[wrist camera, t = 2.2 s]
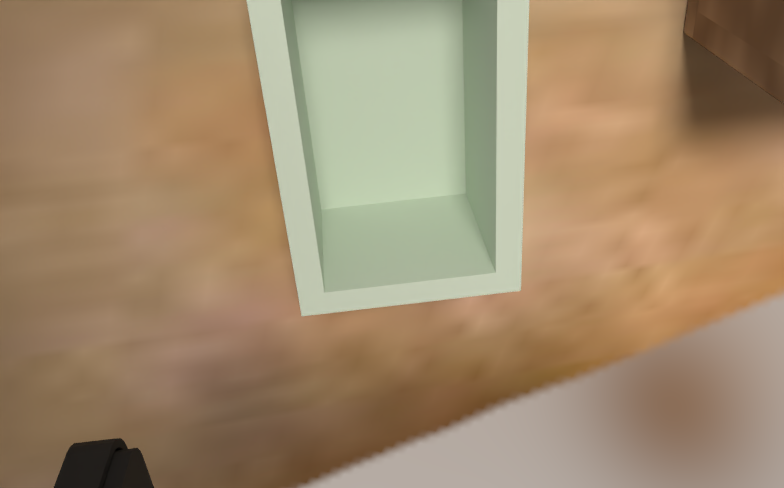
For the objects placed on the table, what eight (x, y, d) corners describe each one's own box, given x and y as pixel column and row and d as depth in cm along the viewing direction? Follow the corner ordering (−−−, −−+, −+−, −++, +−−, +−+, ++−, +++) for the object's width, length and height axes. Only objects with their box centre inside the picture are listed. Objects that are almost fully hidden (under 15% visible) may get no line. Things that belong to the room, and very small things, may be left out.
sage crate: (248, -116, 19) (232, -81, 15) (482, -138, 19) (532, -110, 15) (302, 221, 24) (301, 316, 20) (484, 200, 25) (520, 290, 20)
